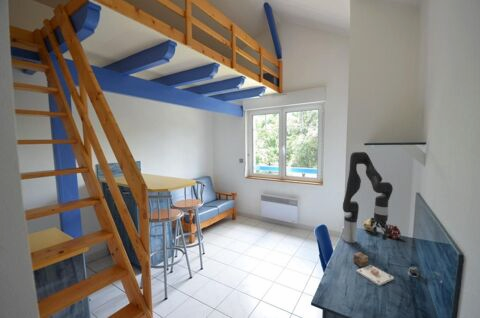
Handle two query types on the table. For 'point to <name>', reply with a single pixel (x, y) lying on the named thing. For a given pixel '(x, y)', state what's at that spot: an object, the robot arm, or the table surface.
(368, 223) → the beige lumpy ball
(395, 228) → the toy fire truck
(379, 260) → the table surface
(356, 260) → the walnut cap block
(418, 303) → the table surface
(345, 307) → the table surface
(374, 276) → the base plate
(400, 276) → the table surface
